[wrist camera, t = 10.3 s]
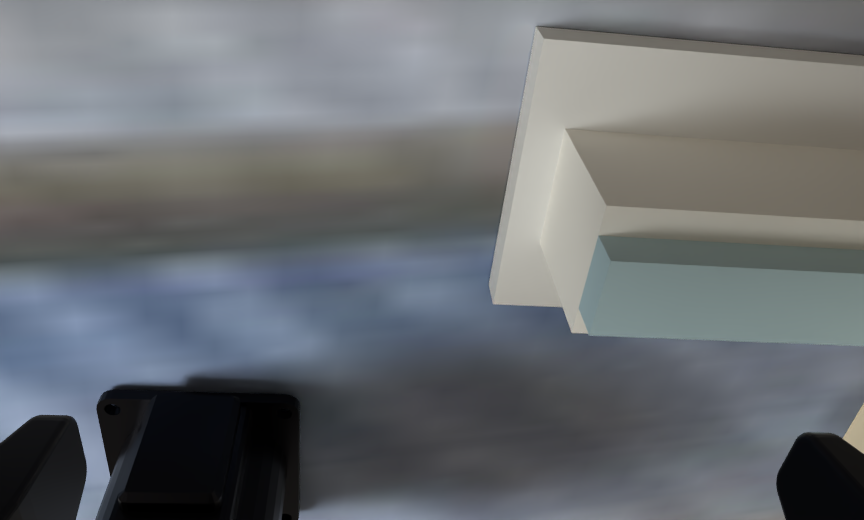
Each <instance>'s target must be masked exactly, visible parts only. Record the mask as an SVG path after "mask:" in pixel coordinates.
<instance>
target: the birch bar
mask: <svg viewBox="0 0 864 520" xmlns="http://www.w3.org/2000/svg"><path fill="white" fill-rule="evenodd" d="M843 439H844V440H845V441H846V442H848V443H849V444H851V445H852V446H853V447H855V448H856V449H858V450H859V451H860V452H862V453H863V454H864V404H863V405H862V407H861V409H860V410H859V412H858V414H857V415H856V417H855V419H854V420H853V422H852V424H851V425H850V427H849V429H848V430H847V432H846V434H845V435H844V437H843Z"/></svg>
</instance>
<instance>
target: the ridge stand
mask: <svg viewBox="0 0 864 520" xmlns="http://www.w3.org/2000/svg"><path fill="white" fill-rule="evenodd" d="M489 288H490V293H491V297H492V301H493V304H500V305H523V306H546V307H563V310H564V313H565V315H566V318H567V321H568V324H569V327H570V329H571V332H572V333H587V334H589V336H611V337H637V338H663V339H689V340H715V341H741V342H767V343H794V344H820V345H846V346H864V56H863V55H852V54H841V53H829V52H818V51H807V50H795V49H784V48H773V47H762V46H750V45H739V44H728V43H717V42H705V41H694V40H683V39H671V38H660V37H649V36H638V35H626V34H615V33H604V32H592V31H581V30H570V29H559V28H547V27H536V29H535V35H534V40H533V46H532V51H531V57H530V62H529V67H528V73H527V78H526V84H525V89H524V95H523V100H522V106H521V111H520V117H519V122H518V127H517V133H516V138H515V144H514V149H513V155H512V160H511V166H510V171H509V177H508V182H507V188H506V193H505V198H504V204H503V209H502V215H501V220H500V226H499V231H498V237H497V242H496V248H495V253H494V258H493V264H492V269H491V275H490V280H489Z"/></svg>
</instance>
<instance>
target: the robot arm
mask: <svg viewBox="0 0 864 520" xmlns="http://www.w3.org/2000/svg"><path fill="white" fill-rule="evenodd" d="M111 404H114V405H117V406H118V407H117V406H113V405H111ZM283 408H285V409H289V410H287V411H284V410H281V409H283ZM97 414H98V419H99V424H100V428H101V433H102V438H103V443H104V448H105V453H106V457H107V462H108V467H109V472H110V477H111V478H110V481H109V484H108V486H107V489H106V492H105V495H104V497H103V500H102V503H101V505H100V508H99V511H98V514H97V516H96V519H95V520H298V518H299V500H300V403H299V401H298V400H297V399H296V398H295V397H293V396H291V395H285V394H248V393H211V392H174V391H137V390H109V391H106V392H104V393H103V394H102V395H101V397H100V399H99V401H98V404H97ZM86 472H87V466H86V459H85V455H84V451H83V446H82V442H81V438H80V434H79V429H78V425H77V423H76V421H75V419H74V418H73V417H71V416H67V415H38V416H35V417H33V418H31V419H30V420H28V421H27V422H26V423H25V424H23V425H22V426H21V427H20V428H18V429H17V430H16V431H15V432H14V433H12V434H11V435H10V436H9V437H7V438H6V439H5V440H4V441H3V442H1V443H0V520H76V516H77V513H78V509H79V505H80V501H81V497H82V493H83V489H84V485H85V481H86ZM776 485H777V492H778V496H779V499H780V502H781V505H782V509H783V512H784V515H785V518H786V520H864V454H863V453H862V452H860V451H859V450H858V449H856V448H855V447H853V446H852V445H851V444H849V443H848V442H846V441H845V440H844V439H842V438H841V437H839V436H838V435H835V434H832V433H812V432H807V433H803V434H801V435H800V436H799V437H798V438H797V439H796V441H795V442H794V444H793V446H792V448H791V450H790V452H789V453H788V455H787V457H786V459H785V461H784V462H783V464H782V466H781V468H780V470H779V472H778V475H777V482H776Z"/></svg>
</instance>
